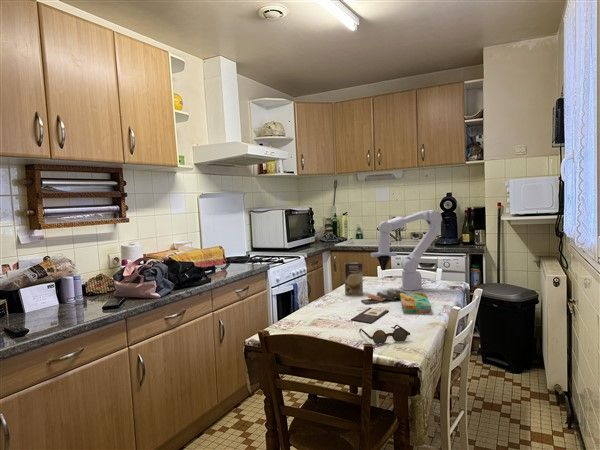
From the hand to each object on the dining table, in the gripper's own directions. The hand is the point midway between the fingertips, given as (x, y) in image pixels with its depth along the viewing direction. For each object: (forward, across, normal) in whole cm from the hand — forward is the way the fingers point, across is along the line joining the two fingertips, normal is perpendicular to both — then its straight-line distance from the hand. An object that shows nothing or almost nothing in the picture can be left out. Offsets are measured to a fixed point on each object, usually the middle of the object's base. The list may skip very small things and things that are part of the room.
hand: (383, 269), depth 206 cm
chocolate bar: (+12, -28, -36) cm, 47 cm away
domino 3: (+10, -6, -19) cm, 22 cm away
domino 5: (+9, +4, -19) cm, 22 cm away
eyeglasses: (+12, -35, -57) cm, 68 cm away
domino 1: (+10, -12, -18) cm, 24 cm away
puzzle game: (+10, -4, -33) cm, 35 cm away
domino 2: (+11, -14, -18) cm, 26 cm away
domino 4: (+9, -1, -19) cm, 21 cm away
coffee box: (+12, -16, 0) cm, 20 cm away
